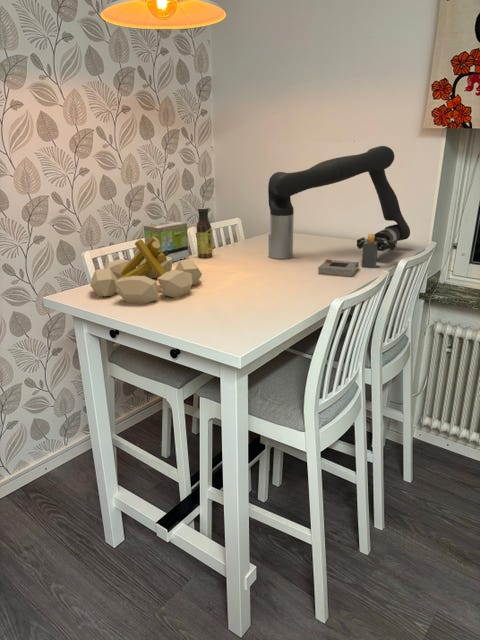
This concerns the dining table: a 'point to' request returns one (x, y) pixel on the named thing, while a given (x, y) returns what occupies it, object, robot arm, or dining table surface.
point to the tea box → (169, 238)
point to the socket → (338, 268)
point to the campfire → (145, 275)
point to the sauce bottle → (204, 234)
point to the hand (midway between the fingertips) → (370, 247)
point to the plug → (369, 252)
